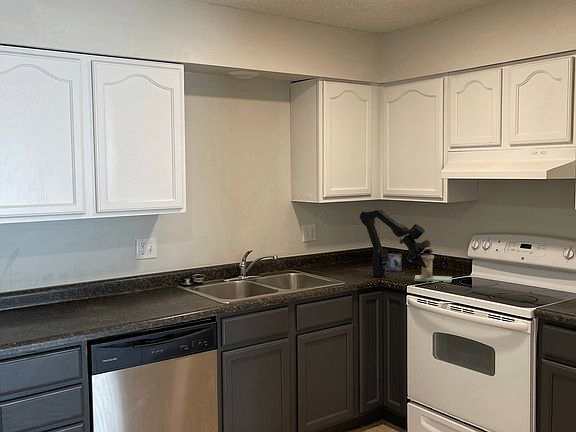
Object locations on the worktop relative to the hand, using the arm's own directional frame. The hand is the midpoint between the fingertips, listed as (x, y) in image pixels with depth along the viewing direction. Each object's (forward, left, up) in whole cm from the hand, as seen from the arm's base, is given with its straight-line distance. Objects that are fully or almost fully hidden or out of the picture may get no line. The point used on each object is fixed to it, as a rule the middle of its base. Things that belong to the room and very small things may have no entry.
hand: (429, 266), depth 325 cm
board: (+2, +13, -9) cm, 16 cm away
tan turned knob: (-1, +1, -7) cm, 7 cm away
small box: (-23, +38, -9) cm, 45 cm away
